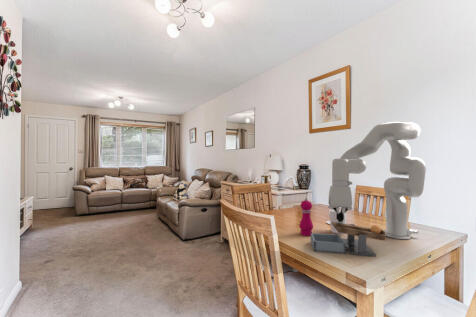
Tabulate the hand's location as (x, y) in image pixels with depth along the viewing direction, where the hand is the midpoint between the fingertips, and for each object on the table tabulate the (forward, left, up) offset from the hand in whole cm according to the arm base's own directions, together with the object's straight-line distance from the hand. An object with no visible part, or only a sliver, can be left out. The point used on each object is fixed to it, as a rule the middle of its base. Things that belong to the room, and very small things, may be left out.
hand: (340, 221), depth 111 cm
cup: (-3, -19, -11) cm, 22 cm away
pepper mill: (+15, -11, -11) cm, 22 cm away
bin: (+7, +7, -11) cm, 15 cm away
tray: (-6, +4, -3) cm, 8 cm away
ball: (-13, +7, -1) cm, 15 cm away
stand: (-6, +4, -11) cm, 13 cm away
